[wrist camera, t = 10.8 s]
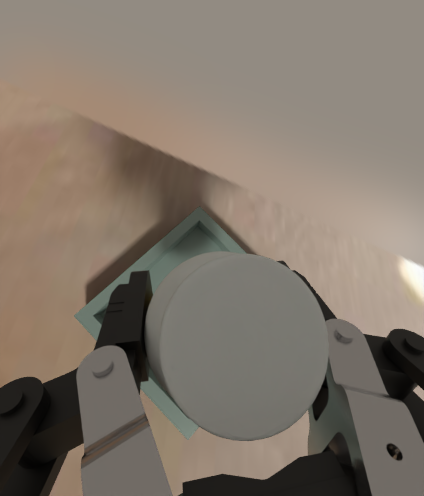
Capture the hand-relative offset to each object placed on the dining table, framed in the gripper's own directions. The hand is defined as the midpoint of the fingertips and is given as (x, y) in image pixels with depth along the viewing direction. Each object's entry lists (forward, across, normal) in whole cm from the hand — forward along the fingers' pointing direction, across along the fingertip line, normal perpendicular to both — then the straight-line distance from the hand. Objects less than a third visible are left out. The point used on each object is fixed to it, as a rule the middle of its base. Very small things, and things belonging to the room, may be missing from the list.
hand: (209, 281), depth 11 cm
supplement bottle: (+2, 0, +4) cm, 5 cm away
